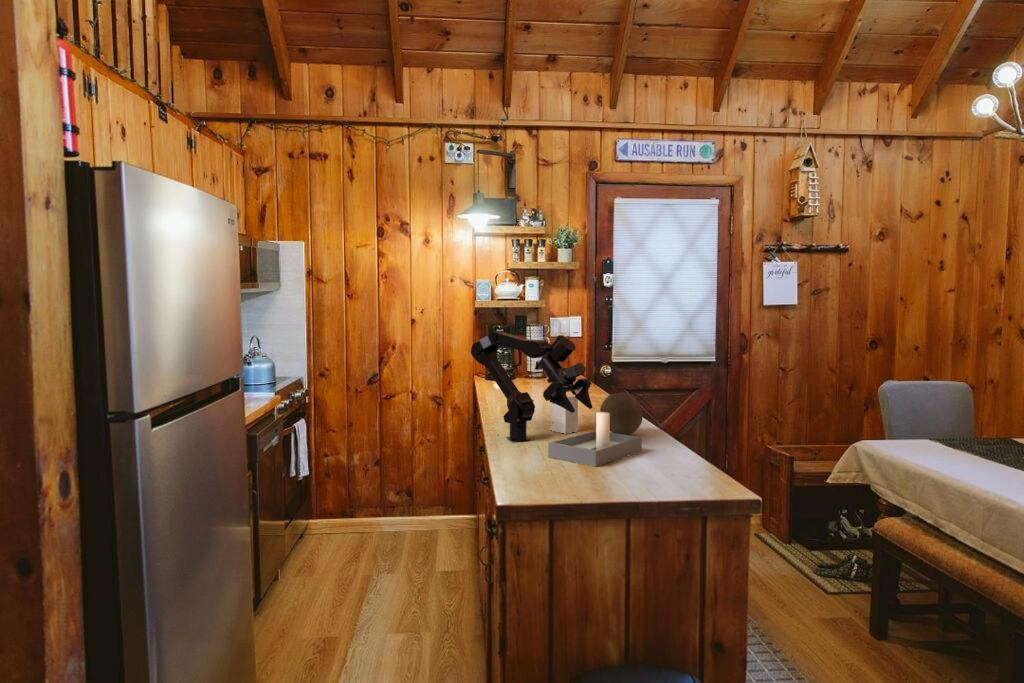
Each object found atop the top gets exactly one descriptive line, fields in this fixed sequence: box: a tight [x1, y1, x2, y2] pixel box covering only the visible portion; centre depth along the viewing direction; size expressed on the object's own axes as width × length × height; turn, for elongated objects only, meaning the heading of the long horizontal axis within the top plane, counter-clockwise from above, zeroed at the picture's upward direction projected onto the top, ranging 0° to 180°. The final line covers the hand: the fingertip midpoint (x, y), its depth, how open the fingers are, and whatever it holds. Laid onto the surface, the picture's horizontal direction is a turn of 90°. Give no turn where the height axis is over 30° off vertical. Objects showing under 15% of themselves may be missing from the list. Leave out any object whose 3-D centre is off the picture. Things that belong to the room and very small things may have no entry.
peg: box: [595, 411, 611, 450], centre depth 197 cm, size 4×4×13 cm
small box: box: [549, 394, 579, 435], centre depth 233 cm, size 8×6×13 cm
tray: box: [547, 429, 643, 467], centre depth 199 cm, size 17×25×4 cm
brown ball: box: [599, 392, 644, 436], centre depth 226 cm, size 14×14×15 cm
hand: (582, 410), depth 202 cm, fingers open, 9 cm apart
